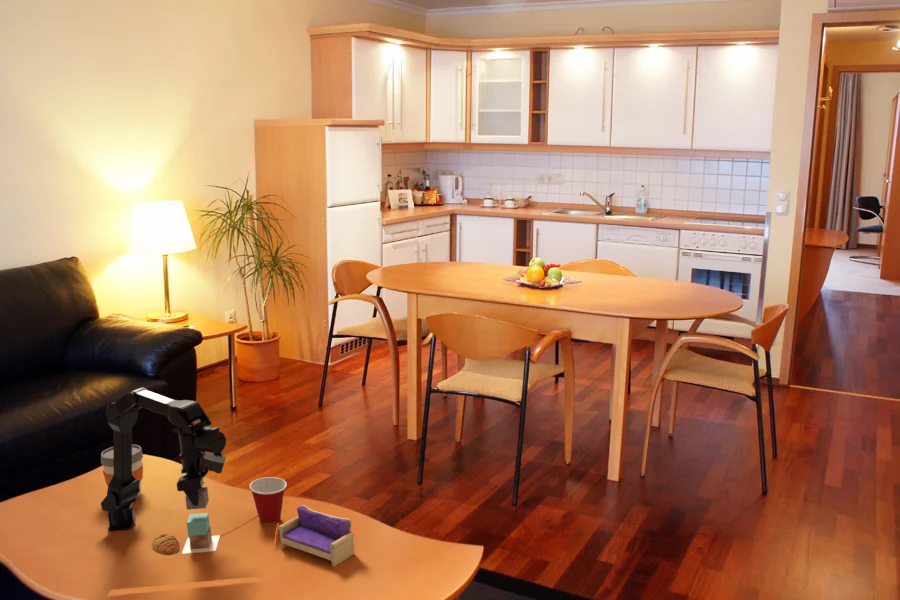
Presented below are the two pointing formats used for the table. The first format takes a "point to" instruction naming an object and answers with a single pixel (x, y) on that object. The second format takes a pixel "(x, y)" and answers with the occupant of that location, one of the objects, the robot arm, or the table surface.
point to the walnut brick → (201, 540)
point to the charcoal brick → (201, 501)
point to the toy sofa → (319, 535)
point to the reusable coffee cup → (108, 464)
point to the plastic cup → (268, 497)
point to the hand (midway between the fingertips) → (197, 501)
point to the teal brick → (198, 524)
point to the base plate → (212, 548)
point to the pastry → (166, 544)
